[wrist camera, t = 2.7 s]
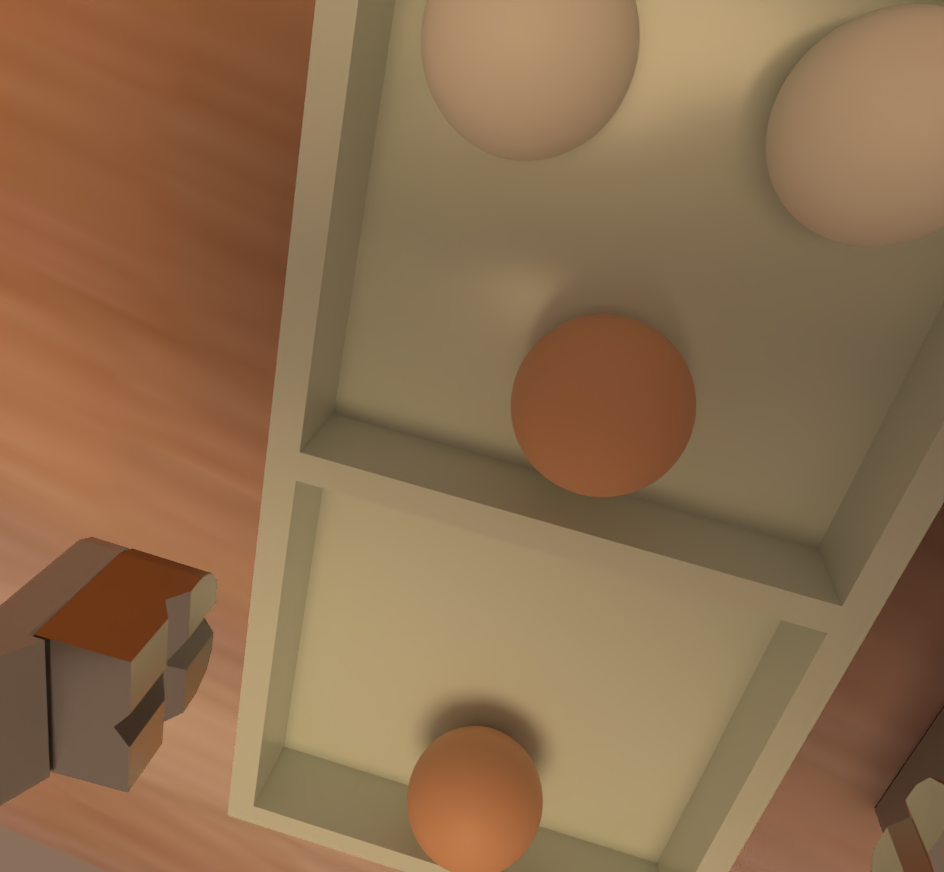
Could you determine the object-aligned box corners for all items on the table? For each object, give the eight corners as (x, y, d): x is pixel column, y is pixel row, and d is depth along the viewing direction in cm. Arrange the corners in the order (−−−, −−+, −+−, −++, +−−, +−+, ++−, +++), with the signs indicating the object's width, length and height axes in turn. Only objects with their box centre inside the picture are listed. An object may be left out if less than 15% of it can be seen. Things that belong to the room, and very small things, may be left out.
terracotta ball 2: (713, 319, 17) (737, 378, 14) (657, 467, 19) (665, 554, 16) (544, 275, 18) (525, 322, 14) (505, 425, 19) (478, 501, 16)
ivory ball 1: (664, -38, 15) (678, -79, 11) (605, 172, 17) (600, 195, 13) (467, -84, 15) (419, -137, 11) (429, 129, 17) (378, 139, 13)
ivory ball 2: (1005, 41, 14) (1132, 24, 11) (907, 248, 16) (989, 293, 13) (795, -7, 15) (852, -39, 11) (722, 202, 16) (750, 233, 13)
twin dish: (1134, -9, 14) (1254, -32, 12) (671, 869, 26) (677, 959, 23) (390, -175, 15) (341, -233, 12) (266, 742, 27) (227, 815, 24)
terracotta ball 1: (563, 719, 23) (553, 834, 20) (531, 806, 25) (516, 926, 21) (437, 681, 23) (404, 788, 20) (414, 769, 25) (380, 882, 22)
